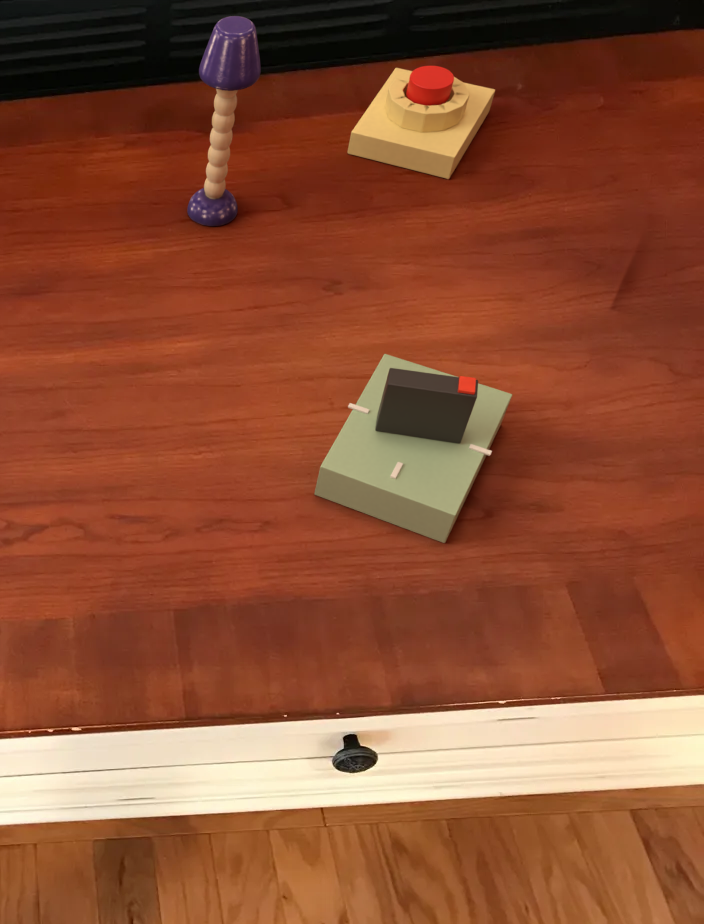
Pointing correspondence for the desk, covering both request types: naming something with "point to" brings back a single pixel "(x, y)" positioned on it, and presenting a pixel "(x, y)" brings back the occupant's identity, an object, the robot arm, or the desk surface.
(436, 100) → the button
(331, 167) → the desk surface
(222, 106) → the toy lamp
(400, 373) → the black rectangular block
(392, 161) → the button block
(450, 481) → the panel
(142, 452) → the desk surface
